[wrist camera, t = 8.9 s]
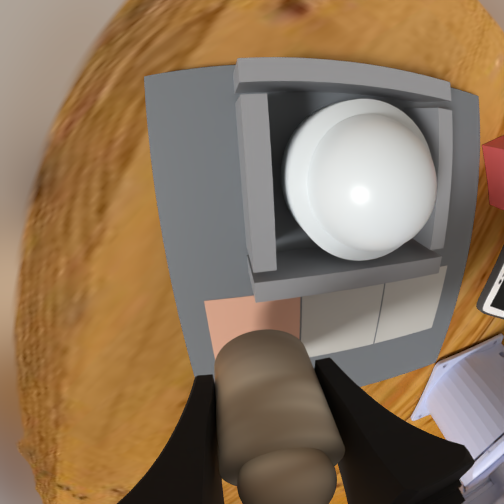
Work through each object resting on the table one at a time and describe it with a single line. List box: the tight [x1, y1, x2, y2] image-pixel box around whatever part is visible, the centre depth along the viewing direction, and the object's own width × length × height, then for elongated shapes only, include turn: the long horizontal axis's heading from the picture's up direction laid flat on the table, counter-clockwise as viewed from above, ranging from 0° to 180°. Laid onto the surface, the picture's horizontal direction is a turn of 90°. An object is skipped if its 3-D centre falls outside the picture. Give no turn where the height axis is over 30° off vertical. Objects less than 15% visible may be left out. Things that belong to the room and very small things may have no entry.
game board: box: [144, 57, 480, 387], centre depth 13 cm, size 16×18×4 cm
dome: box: [281, 99, 437, 261], centre depth 9 cm, size 6×6×5 cm
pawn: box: [214, 329, 345, 504], centre depth 9 cm, size 4×4×7 cm
